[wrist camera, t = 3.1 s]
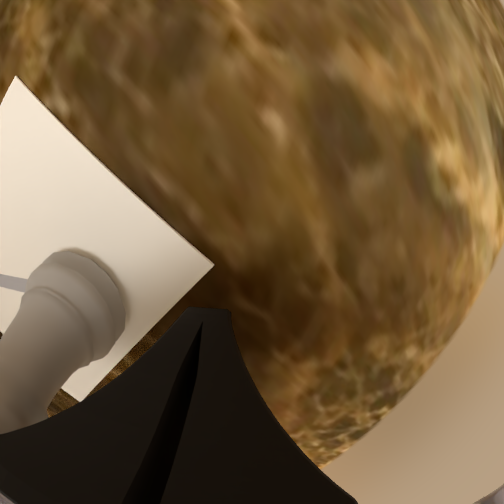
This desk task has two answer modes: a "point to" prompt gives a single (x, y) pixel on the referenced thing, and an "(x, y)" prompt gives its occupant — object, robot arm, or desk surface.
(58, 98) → the desk surface
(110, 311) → the rook chess piece
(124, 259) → the paper
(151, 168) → the desk surface
